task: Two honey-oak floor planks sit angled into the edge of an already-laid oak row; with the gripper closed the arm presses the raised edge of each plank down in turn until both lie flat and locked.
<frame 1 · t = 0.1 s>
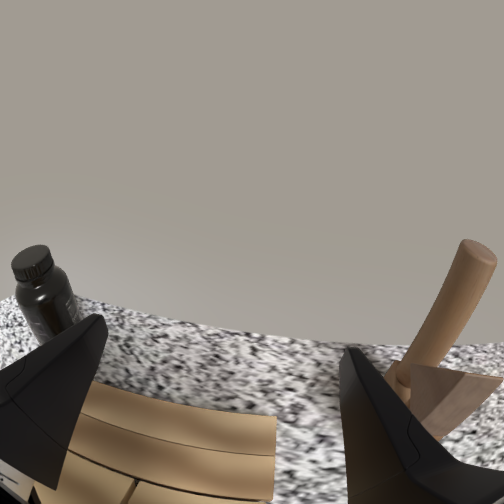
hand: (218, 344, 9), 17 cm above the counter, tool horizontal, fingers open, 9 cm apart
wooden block: (391, 422, 21), on the counter
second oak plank: (63, 489, 10), point 3 cm above the counter, hinge at 30.0°
supplement bottle: (65, 341, 26), on the counter
laid floor row: (153, 442, 18), on the counter
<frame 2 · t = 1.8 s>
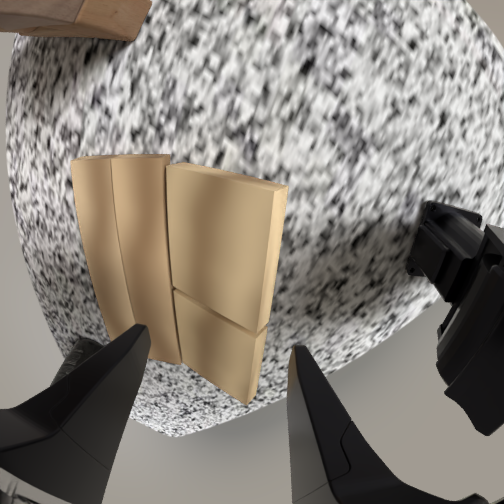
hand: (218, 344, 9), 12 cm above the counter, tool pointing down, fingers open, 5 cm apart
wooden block: (93, 18, 12), on the counter
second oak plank: (217, 349, 23), point 3 cm above the counter, hinge at 30.0°
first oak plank: (217, 246, 18), point 3 cm above the counter, hinge at 30.0°
supplement bottle: (98, 353, 31), on the counter
laid floor row: (133, 271, 23), on the counter
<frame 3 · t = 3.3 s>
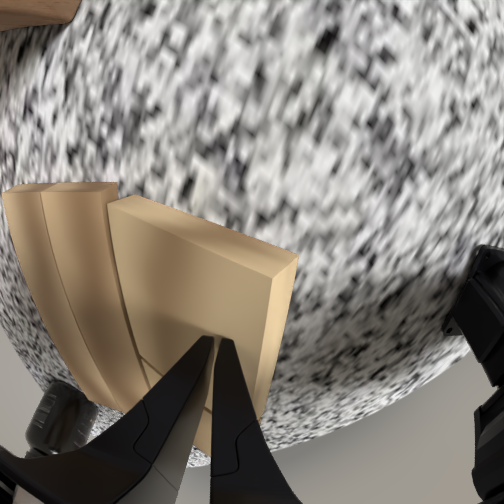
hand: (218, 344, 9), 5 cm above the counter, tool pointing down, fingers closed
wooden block: (31, 3, 6), on the counter
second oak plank: (200, 422, 16), point 3 cm above the counter, hinge at 30.0°
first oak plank: (187, 325, 11), point 3 cm above the counter, hinge at 29.8°, touching gripper
supplement bottle: (76, 395, 24), on the counter
laid floor row: (94, 326, 17), on the counter
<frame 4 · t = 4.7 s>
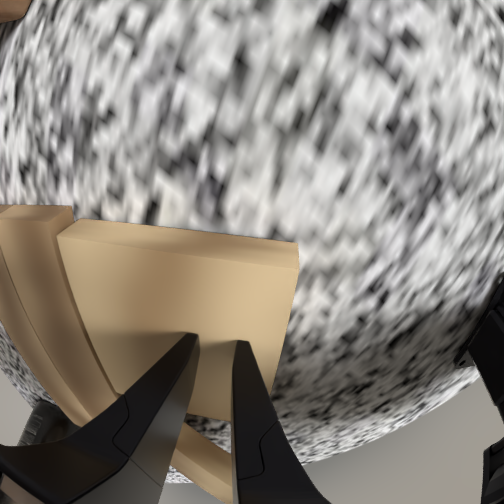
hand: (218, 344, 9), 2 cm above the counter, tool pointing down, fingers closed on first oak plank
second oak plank: (188, 458, 14), point 3 cm above the counter, hinge at 30.0°
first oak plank: (176, 344, 10), point 1 cm above the counter, hinge at 3.2°, touching gripper
supplement bottle: (63, 414, 21), on the counter
laid floor row: (70, 357, 14), on the counter
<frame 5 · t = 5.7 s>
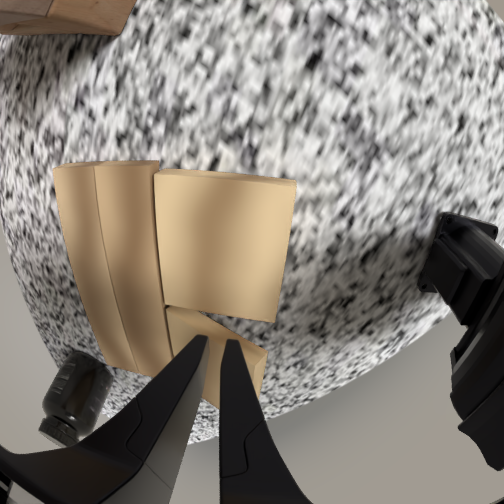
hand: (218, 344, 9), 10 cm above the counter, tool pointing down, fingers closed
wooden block: (77, 13, 10), on the counter
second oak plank: (213, 369, 21), point 3 cm above the counter, hinge at 30.0°
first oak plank: (221, 249, 17), point 1 cm above the counter, hinge at 3.1°
supplement bottle: (92, 366, 29), on the counter
laid floor row: (123, 286, 21), on the counter
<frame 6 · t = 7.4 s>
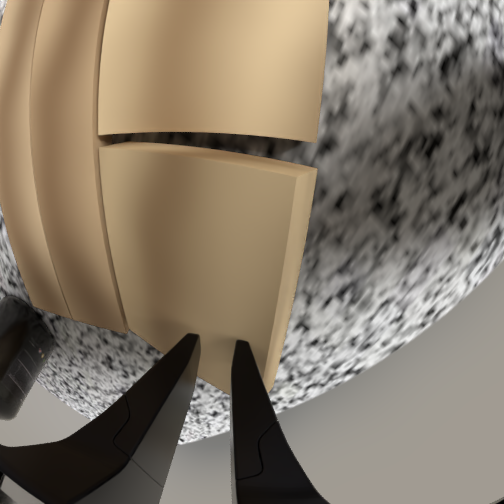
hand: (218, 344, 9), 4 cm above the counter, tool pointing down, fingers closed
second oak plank: (185, 278, 10), point 3 cm above the counter, hinge at 26.0°, touching gripper
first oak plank: (209, 10, 7), point 1 cm above the counter, hinge at 3.1°
supplement bottle: (30, 322, 18), on the counter
laid floor row: (51, 143, 10), on the counter
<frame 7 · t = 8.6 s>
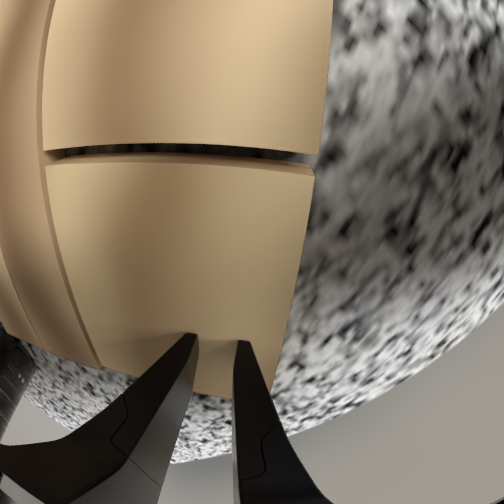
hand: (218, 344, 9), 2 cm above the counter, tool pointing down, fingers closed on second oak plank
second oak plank: (169, 297, 9), point 1 cm above the counter, hinge at 3.1°, touching gripper
supplement bottle: (10, 343, 15), on the counter
laid floor row: (7, 158, 8), on the counter
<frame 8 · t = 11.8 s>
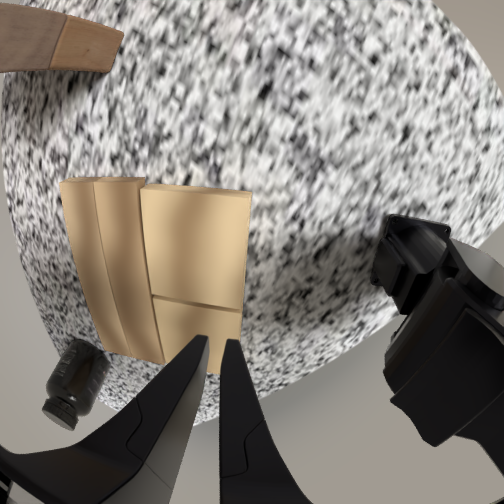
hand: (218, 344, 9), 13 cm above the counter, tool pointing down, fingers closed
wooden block: (73, 48, 14), on the counter
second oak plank: (199, 337, 26), point 1 cm above the counter, hinge at 3.1°
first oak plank: (194, 248, 21), point 1 cm above the counter, hinge at 3.1°
supplement bottle: (91, 353, 32), on the counter
laid floor row: (118, 279, 25), on the counter
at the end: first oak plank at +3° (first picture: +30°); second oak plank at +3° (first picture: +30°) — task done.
